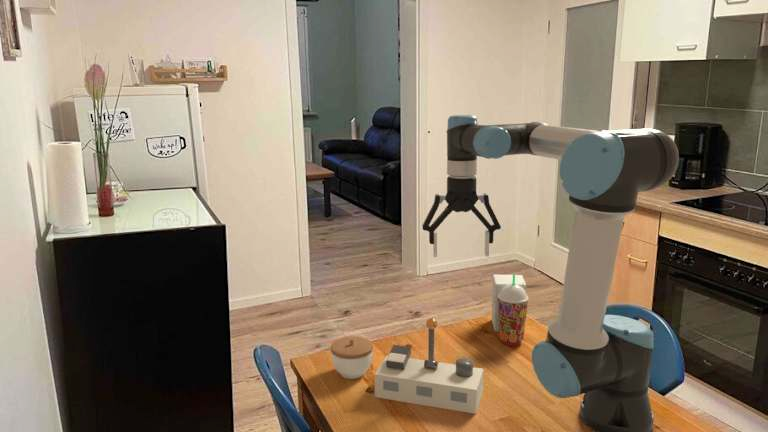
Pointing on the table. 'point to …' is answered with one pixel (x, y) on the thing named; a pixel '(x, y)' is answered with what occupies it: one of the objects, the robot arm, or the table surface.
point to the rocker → (398, 357)
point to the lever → (431, 345)
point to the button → (464, 367)
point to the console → (430, 386)
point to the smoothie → (512, 313)
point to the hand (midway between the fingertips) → (460, 255)
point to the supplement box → (498, 284)
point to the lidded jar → (352, 356)
